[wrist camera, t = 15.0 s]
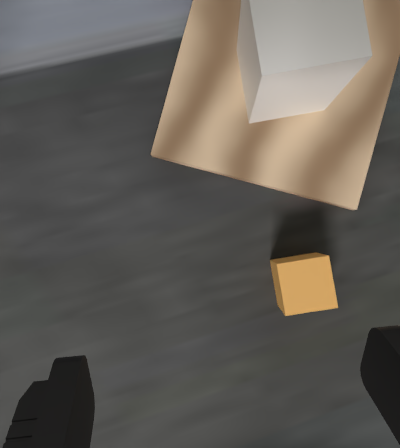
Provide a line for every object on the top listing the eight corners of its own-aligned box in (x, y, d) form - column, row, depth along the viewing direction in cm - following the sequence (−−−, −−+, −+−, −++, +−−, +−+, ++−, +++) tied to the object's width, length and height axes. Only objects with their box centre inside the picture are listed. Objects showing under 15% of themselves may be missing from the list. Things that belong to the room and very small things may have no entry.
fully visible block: (277, 305, 33) (285, 315, 29) (269, 259, 33) (276, 264, 29) (323, 297, 33) (338, 307, 29) (315, 252, 33) (329, 255, 29)
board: (152, 156, 33) (150, 154, 32) (206, -40, 33) (206, -48, 32) (352, 210, 32) (356, 209, 31) (408, 8, 32) (414, 1, 31)
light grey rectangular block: (248, 123, 32) (261, 75, 22) (236, 49, 32) (244, -31, 22) (324, 110, 32) (372, 55, 22) (311, 35, 32) (353, -53, 22)
